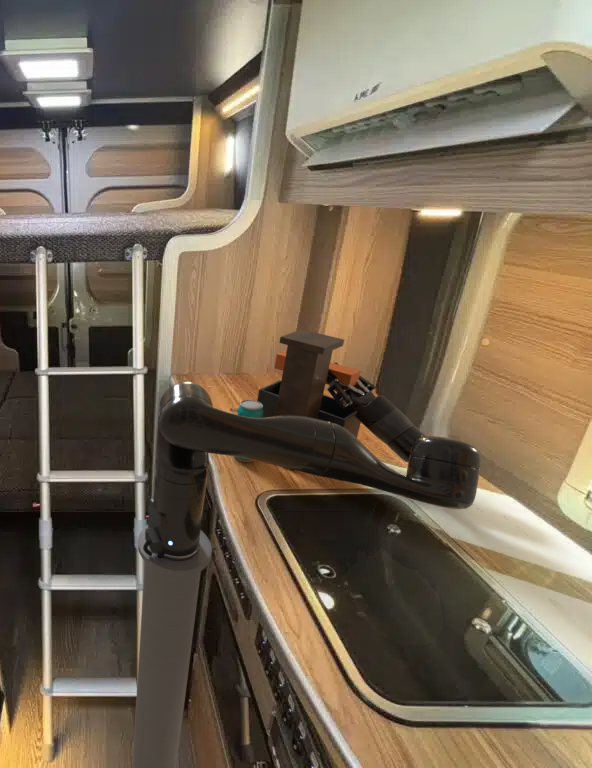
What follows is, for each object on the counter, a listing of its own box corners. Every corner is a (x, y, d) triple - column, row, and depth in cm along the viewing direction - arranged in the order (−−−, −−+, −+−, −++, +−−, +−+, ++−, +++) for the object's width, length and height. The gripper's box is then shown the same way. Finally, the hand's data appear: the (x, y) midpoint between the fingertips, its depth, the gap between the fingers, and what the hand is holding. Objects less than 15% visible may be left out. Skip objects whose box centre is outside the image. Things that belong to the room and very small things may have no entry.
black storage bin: (353, 451, 120) (364, 408, 115) (333, 465, 114) (345, 420, 109) (272, 419, 137) (279, 380, 132) (252, 430, 131) (258, 389, 126)
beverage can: (232, 462, 116) (239, 408, 110) (231, 450, 121) (238, 398, 115) (256, 465, 115) (265, 410, 109) (254, 452, 120) (262, 400, 114)
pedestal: (316, 462, 116) (344, 339, 103) (297, 475, 111) (324, 347, 98) (279, 446, 123) (301, 329, 110) (259, 457, 118) (280, 336, 105)
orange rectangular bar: (357, 385, 112) (360, 370, 111) (348, 390, 110) (351, 375, 108) (283, 364, 126) (286, 350, 125) (274, 368, 124) (276, 353, 122)
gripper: (409, 401, 109) (351, 350, 116) (382, 419, 101) (322, 363, 108) (384, 420, 114) (330, 370, 121) (357, 438, 106) (301, 384, 113)
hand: (327, 367), depth 115 cm, fingers closed on orange rectangular bar, 4 cm apart
